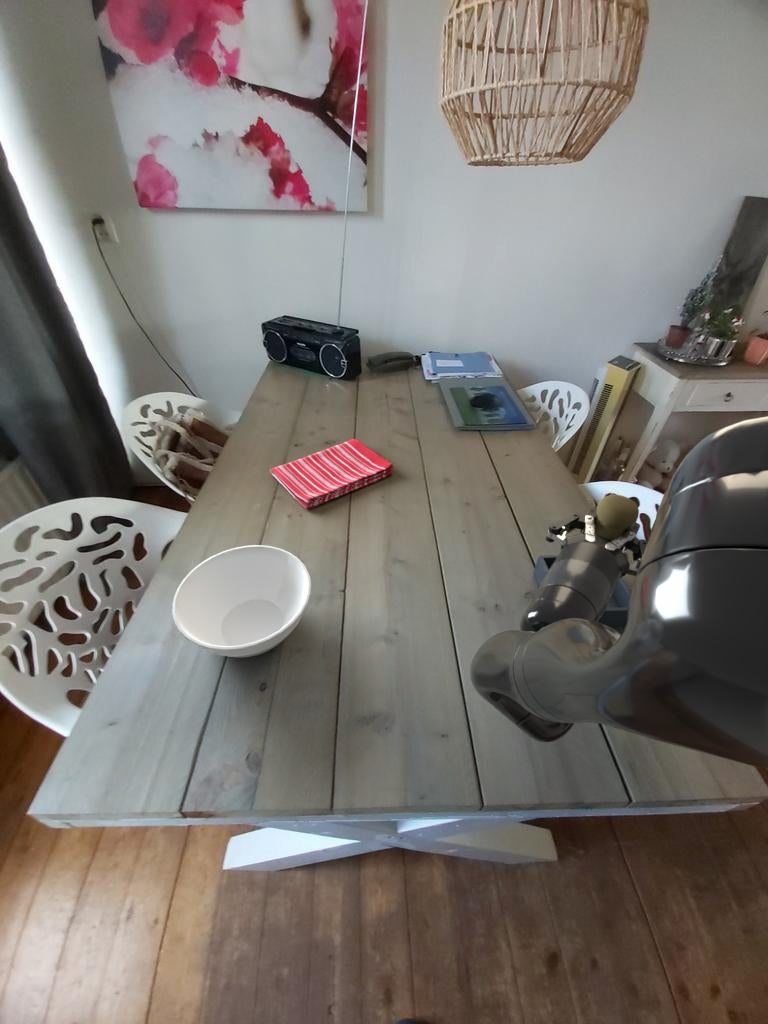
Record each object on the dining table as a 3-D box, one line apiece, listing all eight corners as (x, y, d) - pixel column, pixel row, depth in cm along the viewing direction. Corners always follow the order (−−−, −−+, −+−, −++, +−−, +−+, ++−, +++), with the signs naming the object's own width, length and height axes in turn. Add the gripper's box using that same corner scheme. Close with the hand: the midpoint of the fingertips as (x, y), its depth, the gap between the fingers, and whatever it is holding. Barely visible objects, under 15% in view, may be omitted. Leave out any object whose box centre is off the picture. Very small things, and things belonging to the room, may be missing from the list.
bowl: (160, 638, 67) (142, 603, 62) (256, 563, 79) (248, 529, 74) (249, 710, 58) (237, 677, 53) (340, 613, 71) (338, 578, 66)
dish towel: (396, 474, 102) (396, 464, 100) (307, 512, 91) (306, 502, 89) (354, 443, 112) (354, 434, 111) (269, 474, 101) (268, 464, 99)
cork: (623, 573, 64) (654, 516, 58) (582, 572, 64) (608, 514, 58) (607, 545, 69) (634, 489, 62) (569, 544, 69) (592, 487, 62)
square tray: (632, 626, 70) (642, 609, 67) (557, 629, 70) (565, 612, 67) (598, 570, 80) (607, 553, 77) (533, 572, 79) (538, 555, 76)
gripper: (652, 593, 48) (680, 516, 59) (529, 538, 55) (575, 478, 65) (627, 634, 53) (657, 556, 64) (516, 579, 59) (561, 516, 70)
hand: (615, 517), depth 65 cm, fingers closed on cork, 4 cm apart
